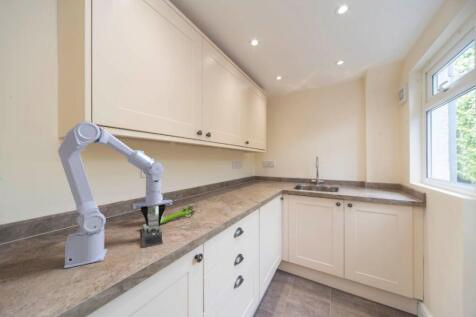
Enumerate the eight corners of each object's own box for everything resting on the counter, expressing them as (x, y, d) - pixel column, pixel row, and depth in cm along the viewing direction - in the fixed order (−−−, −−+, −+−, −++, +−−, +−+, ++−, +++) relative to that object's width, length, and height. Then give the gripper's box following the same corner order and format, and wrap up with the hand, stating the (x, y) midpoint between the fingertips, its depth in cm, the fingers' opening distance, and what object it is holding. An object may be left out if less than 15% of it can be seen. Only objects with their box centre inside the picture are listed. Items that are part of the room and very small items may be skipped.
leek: (138, 231, 85) (190, 212, 110) (146, 238, 82) (197, 216, 106) (139, 219, 84) (190, 202, 108) (146, 226, 80) (198, 206, 104)
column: (148, 237, 72) (148, 218, 72) (147, 233, 76) (148, 215, 76) (158, 235, 74) (158, 216, 74) (157, 232, 77) (158, 214, 77)
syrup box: (163, 221, 96) (163, 193, 96) (155, 225, 90) (155, 196, 90) (153, 220, 97) (153, 193, 97) (145, 224, 91) (145, 195, 91)
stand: (142, 248, 67) (142, 236, 67) (142, 232, 82) (142, 222, 82) (162, 243, 70) (162, 233, 70) (159, 229, 85) (159, 220, 85)
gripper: (170, 188, 82) (170, 218, 82) (133, 191, 75) (133, 224, 75) (173, 190, 76) (172, 223, 75) (132, 193, 69) (132, 229, 69)
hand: (153, 224), depth 75 cm, fingers closed on column, 4 cm apart
